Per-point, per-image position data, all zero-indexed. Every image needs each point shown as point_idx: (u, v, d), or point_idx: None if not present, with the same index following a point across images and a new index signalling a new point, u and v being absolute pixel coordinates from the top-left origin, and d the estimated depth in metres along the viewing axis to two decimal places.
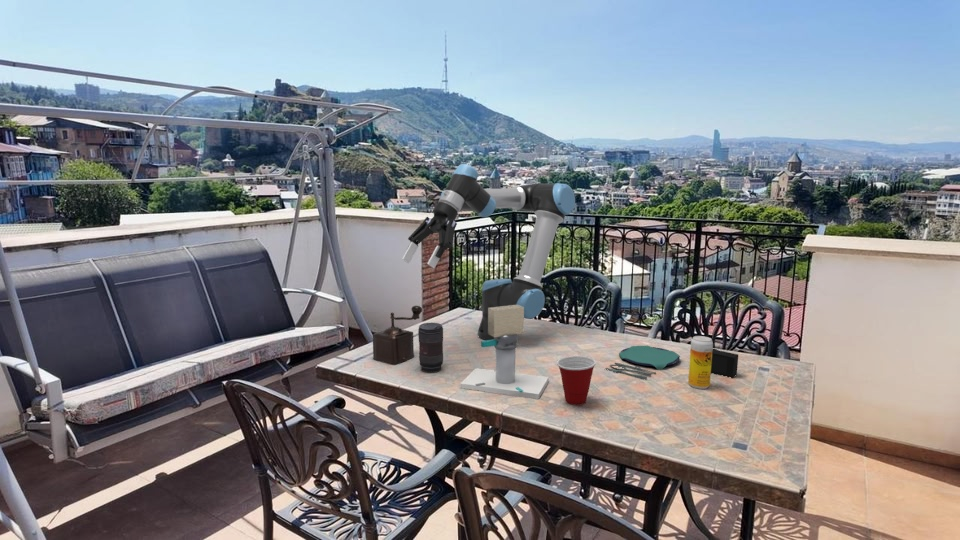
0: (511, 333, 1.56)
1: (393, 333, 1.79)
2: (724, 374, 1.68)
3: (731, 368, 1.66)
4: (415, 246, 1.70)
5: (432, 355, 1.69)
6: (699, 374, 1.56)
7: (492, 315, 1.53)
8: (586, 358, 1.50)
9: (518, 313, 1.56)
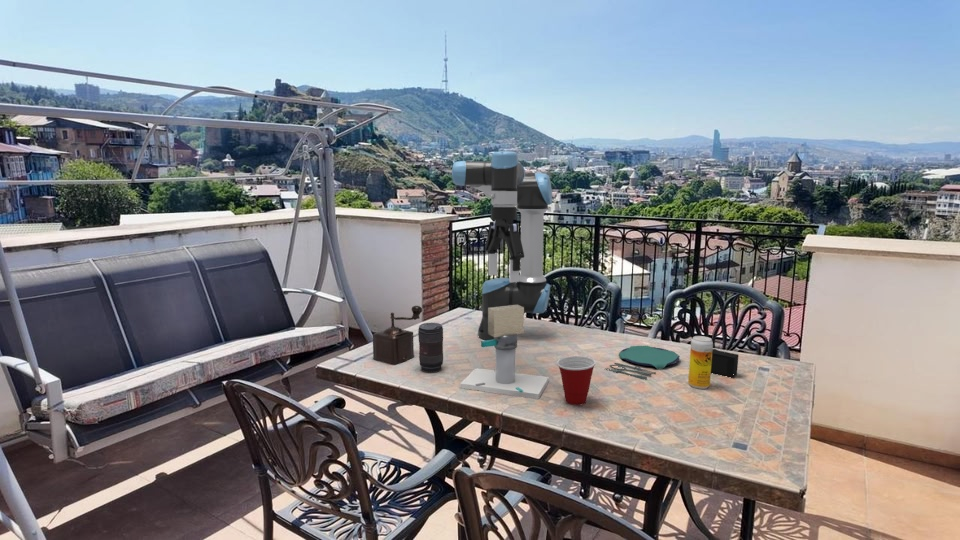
0: (511, 333, 1.56)
1: (393, 333, 1.79)
2: (724, 374, 1.67)
3: (731, 368, 1.66)
4: (494, 255, 1.60)
5: (432, 355, 1.69)
6: (699, 374, 1.56)
7: (492, 315, 1.53)
8: (586, 358, 1.50)
9: (518, 313, 1.56)
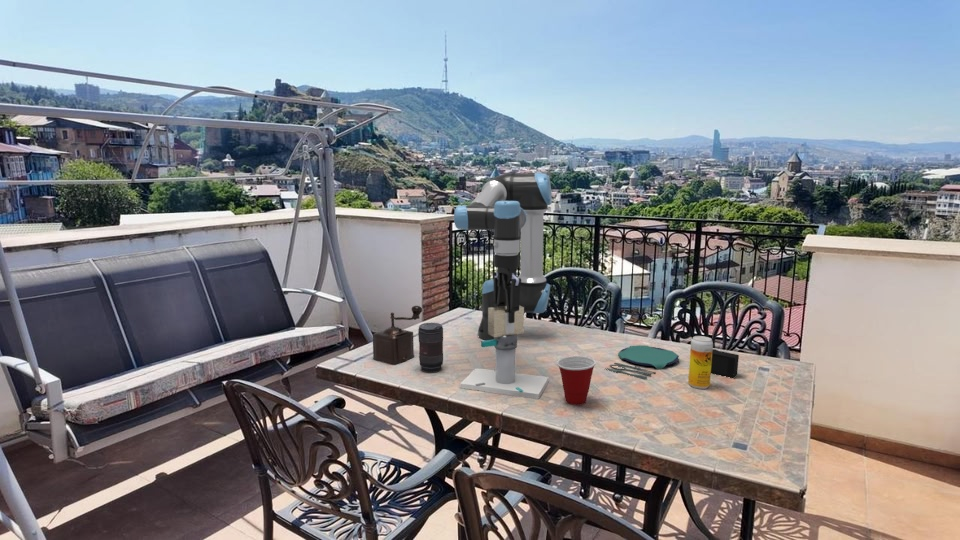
0: (511, 333, 1.56)
1: (393, 333, 1.79)
2: (725, 374, 1.67)
3: (732, 368, 1.65)
4: None
5: (432, 355, 1.69)
6: (699, 374, 1.56)
7: (492, 315, 1.53)
8: (586, 358, 1.50)
9: (518, 313, 1.56)
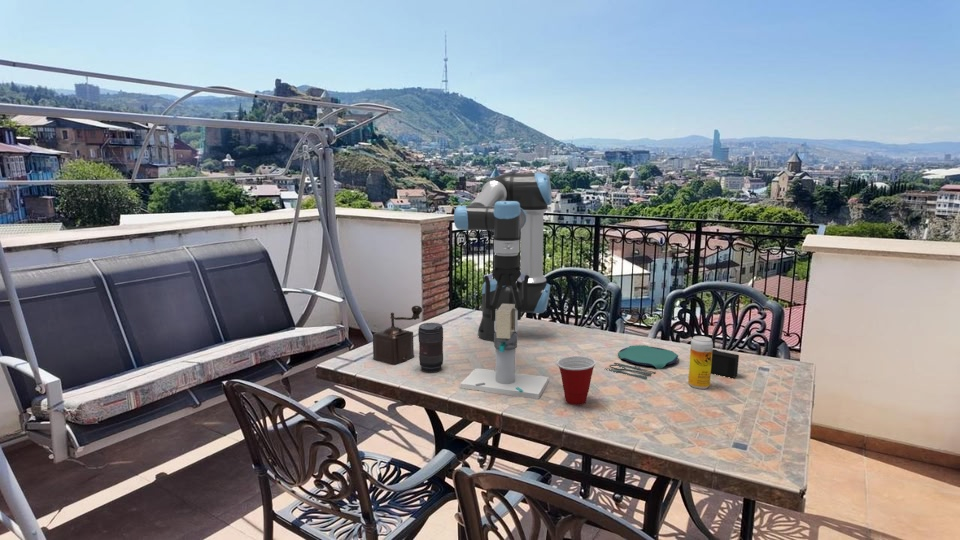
0: (512, 331, 1.57)
1: (393, 333, 1.79)
2: (725, 375, 1.67)
3: (732, 369, 1.65)
4: None
5: (432, 355, 1.69)
6: (699, 374, 1.56)
7: (506, 317, 1.51)
8: (586, 358, 1.50)
9: None
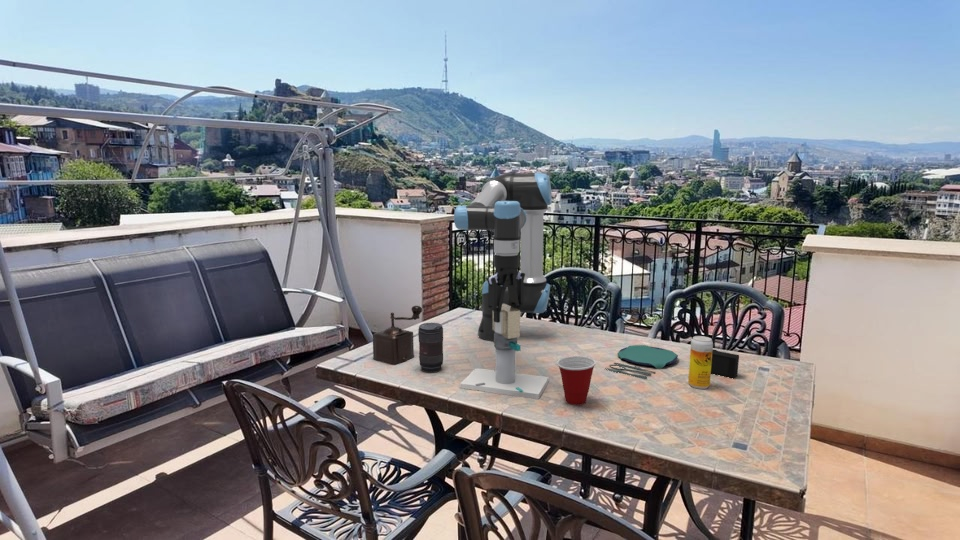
0: None
1: (393, 333, 1.79)
2: (725, 375, 1.67)
3: (733, 369, 1.65)
4: None
5: (432, 355, 1.69)
6: (699, 374, 1.56)
7: (516, 316, 1.52)
8: (586, 358, 1.50)
9: None
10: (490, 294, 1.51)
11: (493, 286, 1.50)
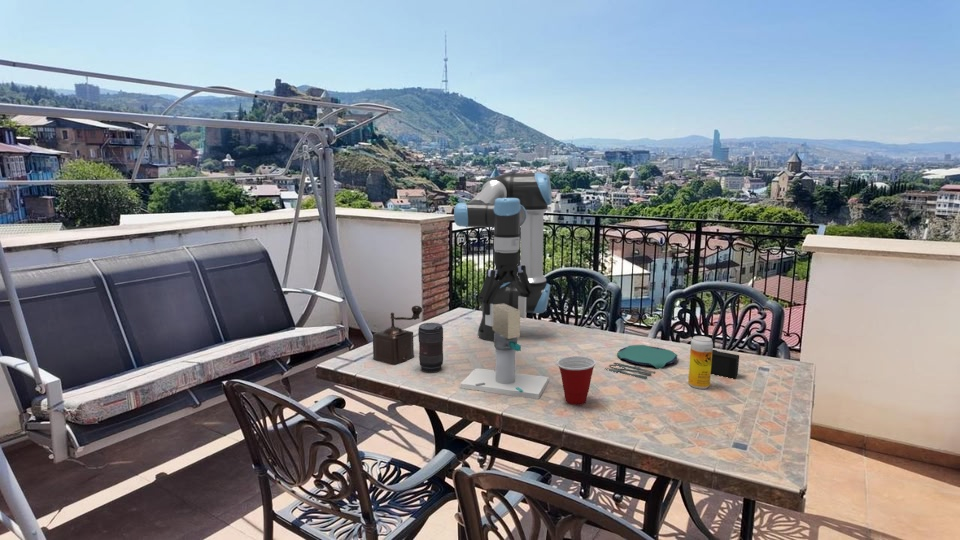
0: None
1: (393, 333, 1.79)
2: (726, 375, 1.66)
3: (733, 369, 1.65)
4: None
5: (432, 355, 1.69)
6: (699, 374, 1.56)
7: (516, 316, 1.52)
8: (586, 358, 1.50)
9: None
10: (485, 286, 1.50)
11: (491, 278, 1.49)
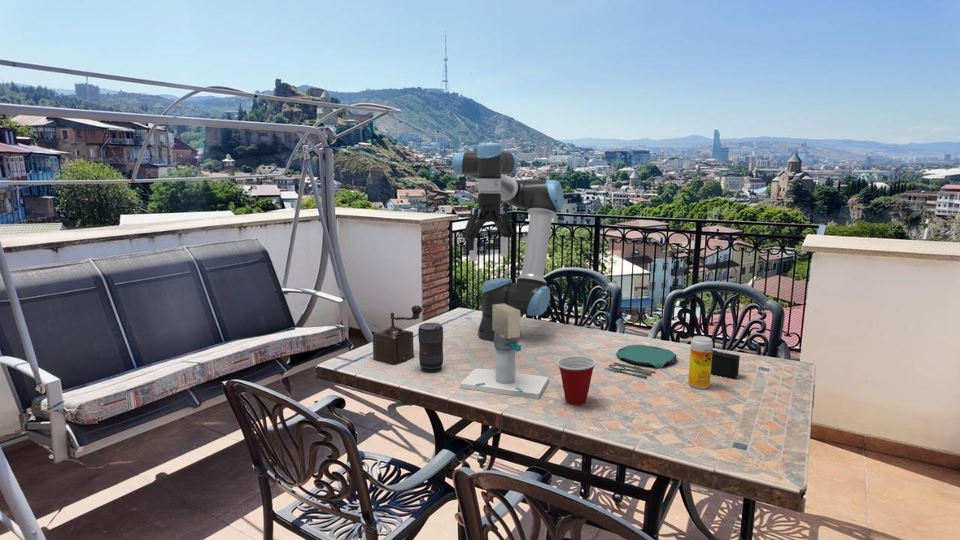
0: None
1: (393, 333, 1.79)
2: (727, 376, 1.66)
3: (734, 369, 1.65)
4: None
5: (432, 355, 1.69)
6: (699, 374, 1.56)
7: (516, 316, 1.52)
8: (586, 358, 1.50)
9: None
10: (469, 223, 1.63)
11: (474, 216, 1.63)
